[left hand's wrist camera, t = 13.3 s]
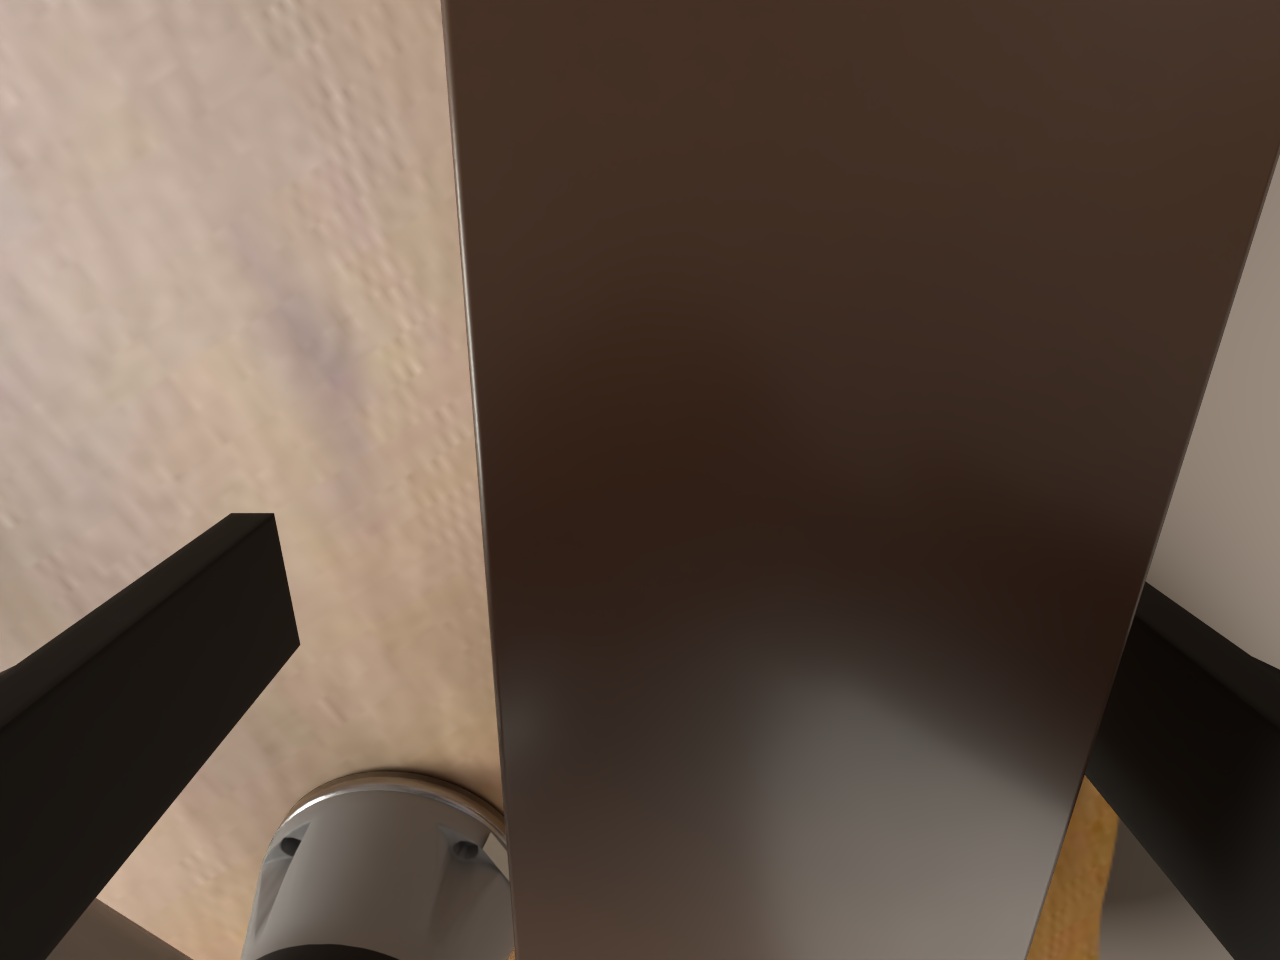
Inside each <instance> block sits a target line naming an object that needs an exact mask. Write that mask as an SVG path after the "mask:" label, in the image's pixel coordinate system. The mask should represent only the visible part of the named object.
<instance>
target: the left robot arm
mask: <svg viewBox="0 0 1280 960" xmlns="http://www.w3.org/2000/svg"><path fill="white" fill-rule="evenodd" d="M299 646H300V641H299V636H298V631H297V626H296V621H295V616H294V611H293V606H292V601H291V596H290V591H289V586H288V581H287V576H286V571H285V566H284V561H283V556H282V551H281V546H280V541H279V536H278V531H277V526H276V521H275V516H274V513H231V514H229V515H228V516H227V517H225V518H224V519H222V520H221V521H220V522H218V523H217V524H215V525H214V526H212V527H211V528H210V529H208V530H207V531H205V532H204V533H203V534H201V535H200V536H198V537H197V538H195V539H194V540H193V541H191V542H190V543H188V544H187V545H186V546H184V547H183V548H181V549H180V550H178V551H177V552H176V553H174V554H173V555H171V556H170V557H169V558H167V559H166V560H164V561H163V562H161V563H160V564H159V565H157V566H156V567H154V568H153V569H152V570H150V571H149V572H147V573H146V574H144V575H143V576H142V577H140V578H139V579H137V580H136V581H135V582H133V583H132V584H130V585H129V586H127V587H126V588H125V589H123V590H122V591H120V592H119V593H118V594H116V595H115V596H113V597H112V598H110V599H109V600H108V601H106V602H105V603H103V604H102V605H101V606H99V607H98V608H96V609H95V610H93V611H92V612H91V613H89V614H88V615H86V616H85V617H84V618H82V619H81V620H79V621H78V622H76V623H75V624H74V625H72V626H71V627H69V628H68V629H67V630H65V631H64V632H62V633H61V634H59V635H58V636H57V637H55V638H54V639H52V640H51V641H50V642H48V643H47V644H45V645H44V646H42V647H41V648H40V649H38V650H37V651H35V652H34V653H33V654H31V655H30V656H28V657H27V658H25V659H24V660H23V661H21V662H20V663H18V664H17V665H15V666H13V667H11V668H9V669H7V670H5V671H3V672H1V673H0V960H193V959H191V958H190V957H188V956H187V955H185V954H183V953H182V952H180V951H179V950H177V949H175V948H174V947H172V946H171V945H169V944H168V943H166V942H164V941H163V940H161V939H160V938H158V937H157V936H155V935H153V934H152V933H150V932H149V931H147V930H145V929H144V928H142V927H141V926H139V925H138V924H136V923H134V922H133V921H131V920H130V919H128V918H127V917H125V916H123V915H122V914H120V913H119V912H117V911H115V910H114V909H112V908H111V907H109V906H108V905H106V904H104V903H103V902H101V901H100V900H98V899H97V898H96V897H97V895H98V894H99V893H100V892H101V890H102V889H103V888H104V887H105V885H106V884H107V883H108V882H109V881H110V879H111V878H112V877H113V876H114V874H115V873H116V872H117V871H118V869H119V868H120V867H121V866H122V864H123V863H124V862H125V861H126V860H127V858H128V857H129V856H130V855H131V853H132V852H133V851H134V850H135V848H136V847H137V846H138V845H139V843H140V842H141V841H142V840H143V839H144V837H145V836H146V835H147V834H148V832H149V831H150V830H151V829H152V827H153V826H154V825H155V824H156V822H157V821H158V820H159V819H160V817H161V816H162V815H163V814H164V813H165V811H166V810H167V809H168V808H169V806H170V805H171V804H172V803H173V801H174V800H175V799H176V798H177V796H178V795H179V794H180V793H181V792H182V790H183V789H184V788H185V787H186V785H187V784H188V783H189V782H190V780H191V779H192V778H193V777H194V775H195V774H196V773H197V772H198V771H199V769H200V768H201V767H202V766H203V764H204V763H205V762H206V761H207V759H208V758H209V757H210V756H211V754H212V753H213V752H214V751H215V750H216V748H217V747H218V746H219V745H220V743H221V742H222V741H223V740H224V738H225V737H226V736H227V735H228V733H229V732H230V731H231V730H232V728H233V727H234V726H235V725H236V724H237V722H238V721H239V720H240V719H241V717H242V716H243V715H244V714H245V712H246V711H247V710H248V709H249V707H250V706H251V705H252V704H253V703H254V701H255V700H256V699H257V698H258V696H259V695H260V694H261V693H262V691H263V690H264V689H265V688H266V686H267V685H268V684H269V683H270V682H271V680H272V679H273V678H274V677H275V675H276V674H277V673H278V672H279V670H280V669H281V668H282V667H283V665H284V664H285V663H286V662H287V661H288V659H289V658H290V657H291V656H292V654H293V653H294V652H295V651H296V649H297V648H298V647H299ZM1085 775H1086V777H1087V778H1088V779H1089V780H1090V782H1091V783H1092V784H1093V785H1094V787H1095V788H1096V789H1097V790H1098V792H1099V793H1100V794H1101V795H1102V796H1103V798H1104V799H1105V800H1106V801H1107V803H1108V804H1109V805H1110V806H1111V808H1112V809H1113V810H1114V811H1115V813H1116V814H1117V815H1118V816H1119V817H1120V819H1121V820H1122V821H1123V822H1124V824H1125V825H1126V826H1127V827H1128V829H1129V830H1130V831H1131V832H1132V834H1133V835H1134V836H1135V837H1136V838H1137V840H1138V841H1139V842H1140V843H1141V845H1142V846H1143V847H1144V848H1145V850H1146V851H1147V852H1148V853H1149V855H1150V856H1151V857H1152V858H1153V860H1154V861H1155V862H1156V863H1157V864H1158V866H1159V867H1160V868H1161V869H1162V871H1163V872H1164V873H1165V874H1166V875H1167V877H1168V878H1169V879H1170V880H1171V882H1172V883H1173V884H1174V885H1175V887H1176V888H1177V889H1178V890H1179V892H1180V893H1181V894H1182V895H1183V897H1184V898H1185V899H1186V900H1187V902H1188V903H1189V904H1190V905H1191V906H1192V908H1193V909H1194V910H1195V911H1196V913H1197V914H1198V915H1199V916H1200V918H1201V919H1202V920H1203V921H1204V923H1205V924H1206V925H1207V926H1208V928H1209V929H1210V930H1211V931H1212V932H1213V934H1214V935H1215V936H1216V937H1217V939H1218V940H1219V941H1220V942H1221V944H1222V945H1223V946H1224V947H1225V948H1226V950H1227V951H1228V952H1229V953H1230V955H1231V956H1232V957H1233V958H1234V960H1280V670H1279V669H1277V668H1275V667H1273V666H1271V665H1269V664H1267V663H1265V662H1263V661H1260V660H1258V659H1256V658H1254V657H1252V656H1250V655H1249V654H1247V653H1246V652H1245V651H1243V650H1242V649H1240V648H1239V647H1238V646H1236V645H1235V644H1233V643H1232V642H1230V641H1229V640H1228V639H1226V638H1225V637H1223V636H1222V635H1220V634H1219V633H1218V632H1216V631H1215V630H1213V629H1212V628H1211V627H1209V626H1208V625H1206V624H1205V623H1204V622H1202V621H1201V620H1199V619H1198V618H1196V617H1195V616H1194V615H1192V614H1191V613H1189V612H1188V611H1187V610H1185V609H1184V608H1182V607H1181V606H1179V605H1178V604H1177V603H1175V602H1174V601H1172V600H1171V599H1170V598H1168V597H1167V596H1165V595H1164V594H1162V593H1161V592H1160V591H1158V590H1157V589H1155V588H1154V587H1152V586H1151V585H1150V584H1148V583H1147V582H1145V584H1144V587H1143V590H1142V593H1141V596H1140V600H1139V603H1138V606H1137V609H1136V612H1135V615H1134V619H1133V622H1132V625H1131V628H1130V631H1129V635H1128V638H1127V641H1126V644H1125V647H1124V650H1123V654H1122V657H1121V660H1120V663H1119V666H1118V669H1117V673H1116V676H1115V679H1114V682H1113V685H1112V689H1111V692H1110V695H1109V698H1108V701H1107V704H1106V708H1105V711H1104V714H1103V717H1102V720H1101V724H1100V727H1099V730H1098V733H1097V736H1096V739H1095V743H1094V746H1093V749H1092V752H1091V755H1090V758H1089V762H1088V765H1087V768H1086V771H1085ZM513 948H514V933H513V920H512V907H511V895H510V882H509V869H508V856H507V843H506V830H505V818H504V817H503V816H502V815H501V814H500V813H499V812H498V811H497V810H496V809H494V808H493V807H492V806H491V805H489V804H488V803H487V802H485V801H484V800H482V799H481V798H479V797H478V796H476V795H474V794H472V793H470V792H469V791H467V790H465V789H463V788H460V787H458V786H456V785H454V784H451V783H448V782H445V781H443V780H440V779H436V778H433V777H429V776H424V775H419V774H414V773H407V772H395V771H375V772H365V773H358V774H353V775H348V776H345V777H341V778H338V779H335V780H332V781H330V782H327V783H325V784H323V785H321V786H319V787H317V788H316V789H314V790H312V791H311V792H309V793H308V794H306V795H305V796H304V797H303V798H301V799H300V800H299V801H298V802H297V803H296V804H295V805H294V806H293V807H292V809H291V810H290V811H289V813H288V814H287V815H286V817H285V819H284V820H283V822H282V824H281V825H280V827H279V829H278V830H277V832H276V834H275V835H274V837H273V839H272V841H271V843H270V845H269V848H268V850H267V853H266V855H265V858H264V860H263V863H262V866H261V870H260V875H259V879H258V884H257V888H256V893H255V897H254V902H253V906H252V911H251V915H250V920H249V924H248V929H247V933H246V938H245V942H244V947H243V951H242V956H241V960H507V959H508V957H509V955H510V954H511V952H512V950H513Z"/></svg>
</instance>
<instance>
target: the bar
mask: <svg viewBox="0 0 1280 960" xmlns="http://www.w3.org/2000/svg"><path fill="white" fill-rule="evenodd" d="M441 11H442V24H443V37H444V49H445V62H446V75H447V88H448V101H449V113H450V126H451V139H452V152H453V165H454V177H455V190H456V203H457V216H458V229H459V241H460V254H461V267H462V280H463V293H464V306H465V318H466V331H467V344H468V357H469V370H470V382H471V395H472V408H473V421H474V434H475V446H476V459H477V472H478V485H479V498H480V510H481V523H482V536H483V549H484V562H485V574H486V587H487V600H488V613H489V626H490V638H491V651H492V664H493V677H494V690H495V702H496V715H497V728H498V741H499V754H500V766H501V779H502V792H503V805H504V818H505V830H506V843H507V856H508V869H509V882H510V895H511V907H512V920H513V933H514V946H515V959H516V960H1026V959H1027V956H1028V952H1029V949H1030V946H1031V943H1032V940H1033V937H1034V933H1035V930H1036V927H1037V924H1038V921H1039V917H1040V914H1041V911H1042V908H1043V905H1044V902H1045V898H1046V895H1047V892H1048V889H1049V886H1050V882H1051V879H1052V876H1053V873H1054V870H1055V867H1056V863H1057V860H1058V857H1059V854H1060V851H1061V847H1062V844H1063V841H1064V838H1065V835H1066V832H1067V828H1068V825H1069V822H1070V819H1071V816H1072V813H1073V809H1074V806H1075V803H1076V800H1077V797H1078V793H1079V790H1080V787H1081V784H1082V781H1083V778H1084V774H1085V771H1086V768H1087V765H1088V762H1089V758H1090V755H1091V752H1092V749H1093V746H1094V743H1095V739H1096V736H1097V733H1098V730H1099V727H1100V724H1101V720H1102V717H1103V714H1104V711H1105V708H1106V704H1107V701H1108V698H1109V695H1110V692H1111V689H1112V685H1113V682H1114V679H1115V676H1116V673H1117V669H1118V666H1119V663H1120V660H1121V657H1122V654H1123V650H1124V647H1125V644H1126V641H1127V638H1128V635H1129V631H1130V628H1131V625H1132V622H1133V619H1134V615H1135V612H1136V609H1137V606H1138V603H1139V600H1140V596H1141V593H1142V590H1143V587H1144V584H1145V580H1146V577H1147V574H1148V571H1149V568H1150V565H1151V561H1152V558H1153V555H1154V552H1155V549H1156V545H1157V542H1158V539H1159V536H1160V533H1161V530H1162V526H1163V523H1164V520H1165V517H1166V514H1167V511H1168V507H1169V504H1170V501H1171V498H1172V495H1173V491H1174V488H1175V485H1176V482H1177V479H1178V476H1179V472H1180V469H1181V466H1182V463H1183V460H1184V456H1185V453H1186V450H1187V447H1188V444H1189V441H1190V437H1191V434H1192V431H1193V428H1194V425H1195V422H1196V418H1197V415H1198V412H1199V409H1200V406H1201V402H1202V399H1203V396H1204V393H1205V390H1206V387H1207V383H1208V380H1209V377H1210V374H1211V371H1212V368H1213V364H1214V361H1215V358H1216V355H1217V352H1218V348H1219V345H1220V342H1221V339H1222V336H1223V333H1224V329H1225V326H1226V323H1227V320H1228V317H1229V313H1230V310H1231V307H1232V304H1233V301H1234V298H1235V294H1236V291H1237V288H1238V285H1239V282H1240V279H1241V275H1242V272H1243V269H1244V266H1245V263H1246V259H1247V256H1248V253H1249V250H1250V247H1251V244H1252V240H1253V237H1254V234H1255V231H1256V228H1257V224H1258V221H1259V218H1260V215H1261V212H1262V209H1263V205H1264V202H1265V199H1266V196H1267V193H1268V190H1269V186H1270V183H1271V180H1272V177H1273V174H1274V170H1275V167H1276V164H1277V161H1278V158H1279V155H1280V0H441Z"/></svg>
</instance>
